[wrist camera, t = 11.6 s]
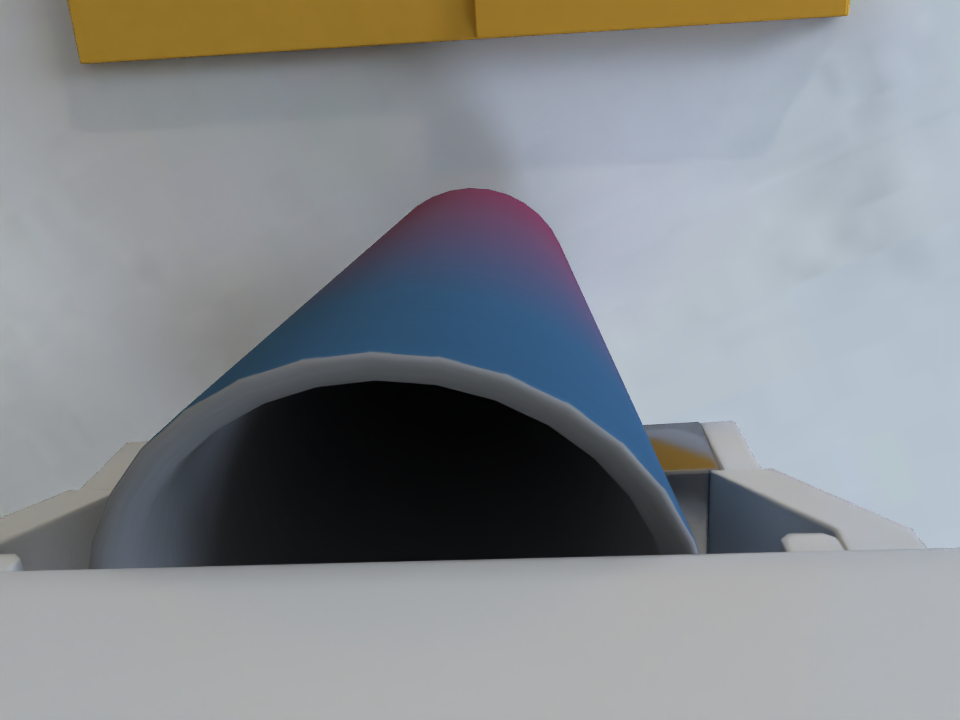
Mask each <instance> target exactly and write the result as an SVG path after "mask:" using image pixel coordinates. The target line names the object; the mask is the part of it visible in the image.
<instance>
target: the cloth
mask: <svg viewBox="0 0 960 720" xmlns="http://www.w3.org/2000/svg"><path fill="white" fill-rule="evenodd" d="M68 5H69V10H70V15H71V19H72V24H73V29H74V34H75V39H76V44H77V49H78V53H79V58H80V63H81V64H90V63H106V62H122V61H138V60H154V59H169V58H185V57H201V56H217V55H233V54H249V53H265V52H281V51H296V50H312V49H328V48H344V47H360V46H376V45H392V44H407V43H423V42H439V41H455V40H471V39H487V38H503V37H518V36H534V35H550V34H566V33H582V32H598V31H614V30H629V29H645V28H661V27H677V26H693V25H709V24H725V23H741V22H756V21H772V20H788V19H804V18H820V17H836V16H847V15H848V14H849V5H850V0H68Z"/></svg>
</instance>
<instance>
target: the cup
mask: <svg viewBox="0 0 960 720" xmlns="http://www.w3.org/2000/svg"><path fill="white" fill-rule="evenodd" d="M684 554H699V552H698V548H697V545H696V542H695V538H694V536H693V534H692V532H691V530H690V528H689V525H688V523H687V521H686V519H685V517H684V514H683V512H682V510H681V508H680V506H679V504H678V501H677V499H676V497H675V495H674V493H673V490H672V488H671V486H670V484H669V482H668V479H667V477H666V475H665V473H664V471H663V469H662V466H661V464H660V462H659V460H658V458H657V455H656V453H655V451H654V449H653V447H652V445H651V442H650V440H649V438H648V436H647V434H646V431H645V429H644V427H643V425H642V423H641V421H640V418H639V416H638V414H637V412H636V410H635V407H634V405H633V403H632V401H631V399H630V397H629V394H628V392H627V390H626V388H625V386H624V383H623V381H622V379H621V377H620V375H619V373H618V370H617V368H616V366H615V364H614V362H613V359H612V357H611V355H610V353H609V351H608V349H607V346H606V344H605V342H604V340H603V338H602V335H601V333H600V331H599V329H598V327H597V325H596V322H595V320H594V318H593V316H592V314H591V311H590V309H589V307H588V305H587V303H586V301H585V298H584V296H583V294H582V292H581V290H580V287H579V285H578V283H577V281H576V279H575V277H574V274H573V272H572V270H571V268H570V266H569V263H568V261H567V259H566V257H565V255H564V253H563V250H562V248H561V246H560V244H559V242H558V240H557V239H556V237H555V235H554V233H553V231H552V230H551V228H550V227H549V226H548V225H547V223H546V222H545V221H544V220H543V219H542V218H541V217H540V215H539V214H538V213H536V212H535V211H534V210H532V209H531V208H530V207H528V206H527V205H526V204H525V203H523V202H521V201H519V200H517V199H515V198H513V197H511V196H509V195H507V194H503V193H500V192H496V191H492V190H489V189H474V188H467V189H459V190H452V191H448V192H445V193H442V194H440V195H437V196H434V197H432V198H430V199H428V200H427V201H425V202H423V203H422V204H420V205H418V206H417V207H416V208H414V209H413V210H412V211H411V212H410V213H409V214H408V215H406V216H405V217H404V218H403V219H402V220H401V221H399V222H398V223H397V224H396V225H395V226H394V227H393V228H391V229H390V230H389V231H388V232H387V233H386V234H385V235H383V236H382V237H381V238H380V239H379V240H378V241H377V242H375V243H374V244H373V245H372V246H371V247H370V248H368V249H367V250H366V251H365V252H364V253H363V254H362V255H360V256H359V257H358V258H357V259H356V260H355V261H354V262H352V263H351V264H350V265H349V266H348V267H347V268H346V269H344V270H343V271H342V272H341V273H340V274H339V275H338V276H336V277H335V278H334V279H333V280H332V281H331V282H329V283H328V284H327V285H326V286H325V287H324V288H323V289H321V290H320V291H319V292H318V293H317V294H316V295H315V296H313V297H312V298H311V299H310V300H309V301H308V302H307V303H305V304H304V305H303V306H302V307H301V308H300V309H298V310H297V311H296V312H295V313H294V314H293V315H292V316H290V317H289V318H288V319H287V320H286V321H285V322H284V323H282V324H281V325H280V326H279V327H278V328H277V329H276V330H274V331H273V332H272V333H271V334H270V335H269V336H267V337H266V338H265V339H264V340H263V341H262V342H261V343H259V344H258V345H257V346H256V347H255V348H254V349H253V350H251V351H250V352H249V353H248V354H247V355H246V356H245V357H243V358H242V359H241V360H240V361H239V362H238V363H237V364H235V365H234V366H233V367H232V368H231V369H230V370H228V371H227V372H226V373H225V374H224V375H223V376H222V377H220V378H219V379H218V380H217V381H216V382H215V383H214V384H212V385H211V386H210V387H209V388H208V389H207V390H206V391H204V392H203V393H202V394H201V395H200V396H199V397H197V398H196V399H195V400H194V401H193V402H192V403H191V404H189V405H188V406H187V407H186V408H185V409H184V410H183V411H182V412H180V413H179V414H178V415H177V416H176V417H175V418H174V419H173V420H172V421H171V422H169V423H168V424H167V425H166V426H165V427H164V428H163V429H162V430H161V431H160V432H158V433H157V434H156V435H155V436H154V437H153V438H152V439H151V440H150V441H149V442H147V443H146V444H145V445H144V446H143V447H142V448H141V449H140V451H139V452H138V454H137V455H136V457H135V458H134V460H133V461H132V462H131V464H130V465H129V467H128V468H127V470H126V471H125V473H124V474H123V476H122V477H121V479H120V480H119V481H118V483H117V484H116V486H115V487H114V489H113V490H112V492H111V493H110V495H109V498H108V501H107V503H106V506H105V509H104V511H103V514H102V517H101V520H100V522H99V525H98V528H97V530H96V533H95V536H94V538H93V541H92V544H91V553H90V562H89V569H123V568H163V567H203V566H243V565H283V564H323V563H363V562H403V561H443V560H483V559H522V558H562V557H603V556H643V555H684Z"/></svg>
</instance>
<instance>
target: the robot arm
mask: <svg viewBox="0 0 960 720" xmlns="http://www.w3.org/2000/svg"><path fill="white" fill-rule="evenodd" d="M643 427H644V429H645V431H646V434H647V436H648V438H649V440H650V442H651V445H652V447H653V449H654V451H655V453H656V455H657V458H658V460H659V462H660V464H661V466H662V469H663V471H664V473H665V475H666V477H667V479H668V482H669V484H670V486H671V488H672V490H673V493H674V495H675V497H676V499H677V501H678V504H679V506H680V508H681V510H682V512H683V514H684V517H685V519H686V521H687V523H688V525H689V528H690V530H691V532H692V534H693V536H694V538H695V542H696V545H697V548H698V552H699V554H684V555H643V556H603V557H562V558H522V559H483V560H443V561H403V562H363V563H323V564H283V565H243V566H203V567H163V568H123V569H89V562H90V553H91V544H92V541H93V538H94V536H95V533H96V530H97V528H98V525H99V522H100V520H101V517H102V514H103V511H104V509H105V506H106V503H107V501H108V498H109V495H110V493H111V492H112V490H113V489H114V487H115V486H116V484H117V483H118V481H119V480H120V479H121V477H122V476H123V474H124V473H125V471H126V470H127V468H128V467H129V465H130V464H131V462H132V461H133V460H134V458H135V457H136V455H137V454H138V452H139V451H140V449H141V448H142V447H143V446H144V445H145V444H146V443H147V442H149V441H146V442H130V443H126V444H125V445H124V446H123V447H122V448H121V449H120V450H119V451H118V452H117V453H116V454H115V455H114V456H113V457H112V458H111V459H110V460H109V461H108V462H107V463H106V464H105V465H104V466H103V467H102V468H101V469H100V470H99V471H98V472H97V473H96V474H95V475H94V476H93V477H92V478H91V479H90V480H89V481H88V482H87V483H86V484H85V485H84V486H83V487H82V488H81V489H80V490H69V491H67V492H64V493H62V494H59V495H57V496H54V497H52V498H49V499H47V500H44V501H42V502H39V503H37V504H34V505H32V506H29V507H27V508H24V509H22V510H19V511H17V512H14V513H12V514H9V515H7V516H5V517H2V518H0V720H960V548H927V547H926V546H925V544H924V543H923V542H922V541H921V539H920V538H919V537H918V536H917V534H916V533H915V532H914V530H913V529H911V528H909V527H907V526H904V525H902V524H900V523H897V522H895V521H893V520H890V519H888V518H886V517H883V516H881V515H879V514H876V513H874V512H872V511H869V510H867V509H865V508H863V507H860V506H858V505H856V504H853V503H851V502H849V501H846V500H844V499H842V498H839V497H837V496H835V495H832V494H830V493H828V492H825V491H823V490H821V489H818V488H816V487H814V486H812V485H809V484H807V483H805V482H802V481H800V480H798V479H795V478H793V477H791V476H788V475H786V474H784V473H781V472H779V471H777V470H774V469H762V468H761V466H760V464H759V462H758V461H757V459H756V457H755V455H754V454H753V452H752V450H751V448H750V447H749V445H748V443H747V441H746V439H745V438H744V436H743V434H742V432H741V431H740V429H739V427H738V425H737V423H736V422H733V421H721V422H707V423H699V422H689V423H672V424H654V425H643Z"/></svg>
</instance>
